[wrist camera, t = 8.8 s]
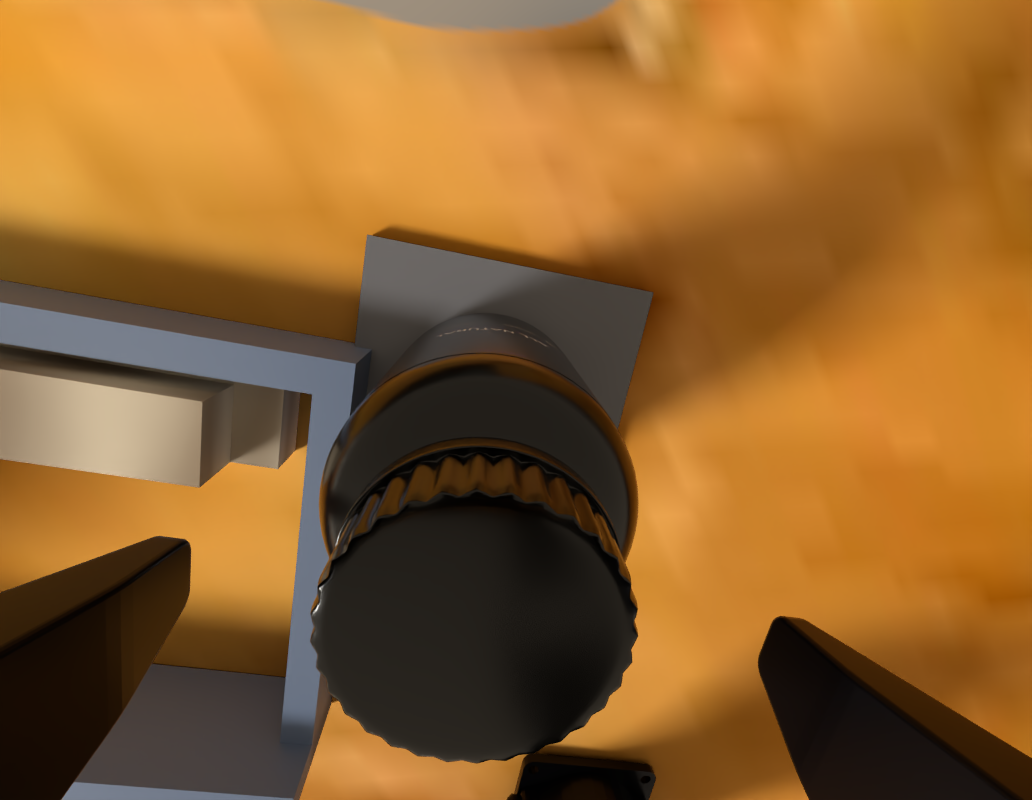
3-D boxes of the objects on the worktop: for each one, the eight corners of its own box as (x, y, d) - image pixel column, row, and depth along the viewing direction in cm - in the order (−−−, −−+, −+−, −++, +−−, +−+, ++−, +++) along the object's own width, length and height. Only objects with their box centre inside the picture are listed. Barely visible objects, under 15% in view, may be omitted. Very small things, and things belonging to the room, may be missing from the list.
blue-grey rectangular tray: (375, 346, 19) (338, 379, 14) (331, 703, 23) (291, 823, 18) (-232, 239, 16) (-528, 233, 12) (-155, 656, 21) (-347, 779, 16)
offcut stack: (304, 373, 19) (259, 404, 15) (297, 448, 20) (253, 495, 16) (-86, 307, 17) (-245, 322, 14) (-76, 390, 18) (-225, 427, 14)
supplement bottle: (518, 272, 18) (588, 311, 6) (606, 432, 19) (788, 696, 8) (350, 371, 18) (123, 579, 7) (452, 518, 20) (412, 878, 8)
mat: (648, 291, 19) (653, 292, 18) (585, 532, 21) (588, 540, 21) (371, 235, 17) (367, 234, 17) (340, 497, 20) (336, 504, 20)
